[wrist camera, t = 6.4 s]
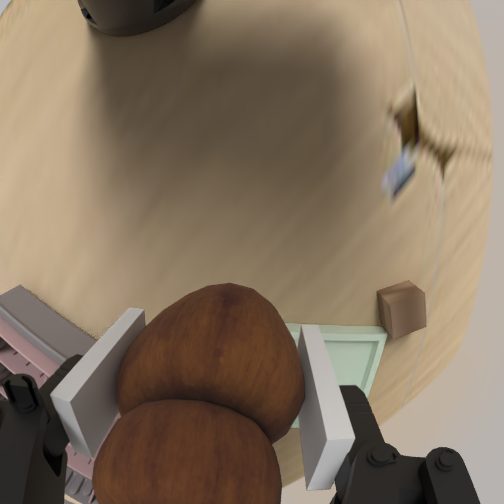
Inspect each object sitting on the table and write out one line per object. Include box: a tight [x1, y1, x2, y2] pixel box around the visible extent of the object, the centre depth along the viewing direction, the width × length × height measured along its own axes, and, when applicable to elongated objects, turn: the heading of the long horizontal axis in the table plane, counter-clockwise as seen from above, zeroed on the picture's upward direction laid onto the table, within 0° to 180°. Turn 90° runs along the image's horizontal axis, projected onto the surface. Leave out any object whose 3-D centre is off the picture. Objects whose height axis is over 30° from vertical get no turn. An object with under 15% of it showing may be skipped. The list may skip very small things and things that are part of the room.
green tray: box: [285, 323, 388, 428], centre depth 32 cm, size 14×14×2 cm
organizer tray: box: [0, 285, 121, 504], centre depth 33 cm, size 32×40×10 cm
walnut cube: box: [377, 280, 426, 339], centre depth 29 cm, size 4×4×4 cm
